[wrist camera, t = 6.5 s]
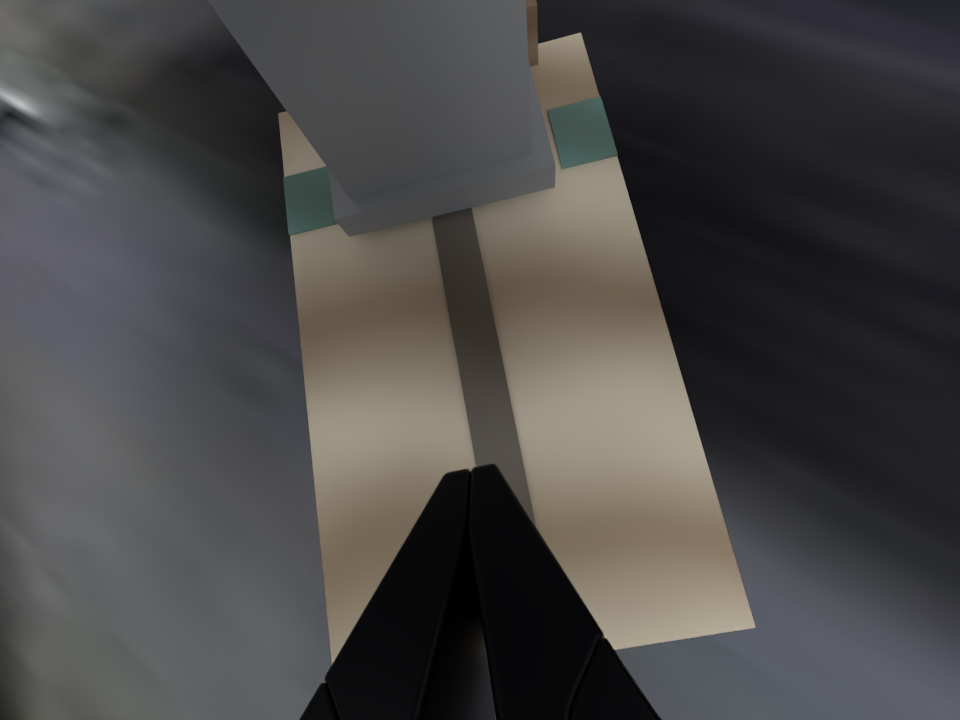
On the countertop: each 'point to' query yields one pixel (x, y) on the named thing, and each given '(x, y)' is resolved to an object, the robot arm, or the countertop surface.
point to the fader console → (510, 380)
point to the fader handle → (404, 100)
